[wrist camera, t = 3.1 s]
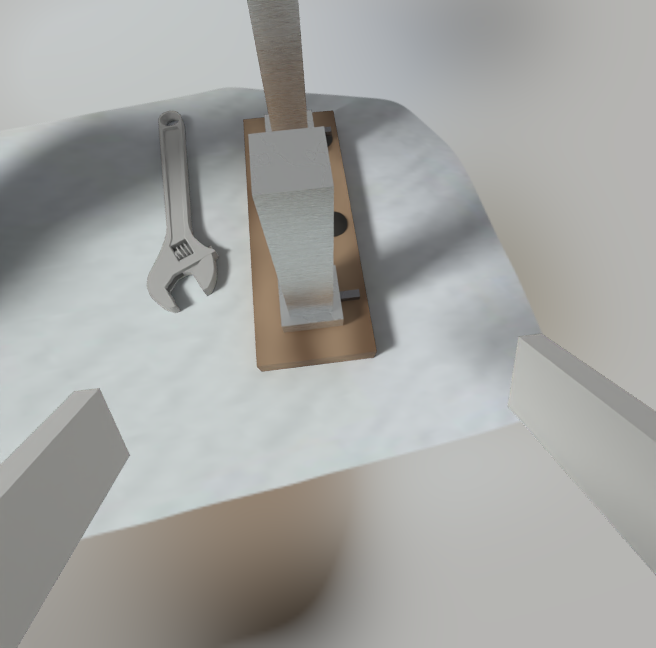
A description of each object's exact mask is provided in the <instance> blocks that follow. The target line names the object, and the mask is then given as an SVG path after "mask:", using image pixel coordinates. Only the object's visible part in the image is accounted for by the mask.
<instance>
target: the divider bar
mask: <svg viewBox="0 0 656 648" xmlns="http://www.w3.org/2000/svg"><path fill="white" fill-rule="evenodd" d="M312 116H313V123H314V127H321V126H324V127H330V126H331V131H332V136H330V137H326V141H327V147H328V153H329V159H330V166H331V172H332V178H333V184H334V249H333V265H335V266H336V273H337V279H338V286H339V291H348V290H356V289H359V293H360V299H359V300H351V301H343V302H341V306H342V312H343V326H334V327H326V328H318V329H310V330H302V331H293V332H285V333H284V331H283V329H282V326H281V314H280V302H279V290H278V278H277V273H276V270H275V267H274V264H273V261H272V258H271V254H270V251H269V248H268V245H267V242H266V238H265V235H264V232H263V229H262V226H261V223H260V219H259V216H258V213H257V210H256V207H255V203H254V200H253V197H252V188H251V172H250V155H249V138H248V134H253V133H263V132H266V129H265V117H264V118H254V119H244V120H243V122H244V140H245V158H246V177H247V195H248V213H249V232H250V250H251V268H252V286H253V305H254V323H255V341H256V359H257V367H258V368H259V369H260V370H261V372H262V371H270V370H278V369H286V368H294V367H302V366H310V365H318V364H326V363H334V362H342V361H350V360H358V359H366V358H374V356H375V354H376V352H377V350H376V345H375V339H374V334H373V328H372V322H371V317H370V311H369V306H368V300H367V295H366V289H365V284H364V278H363V273H362V267H361V262H360V256H359V251H358V245H357V239H356V234H355V228H354V223H353V217H352V212H351V206H350V201H349V195H348V190H347V184H346V179H345V173H344V167H343V162H342V156H341V151H340V145H339V140H338V134H337V129H336V123H335V118H334V112H333V111H323V112H313V113H312Z"/></svg>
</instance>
